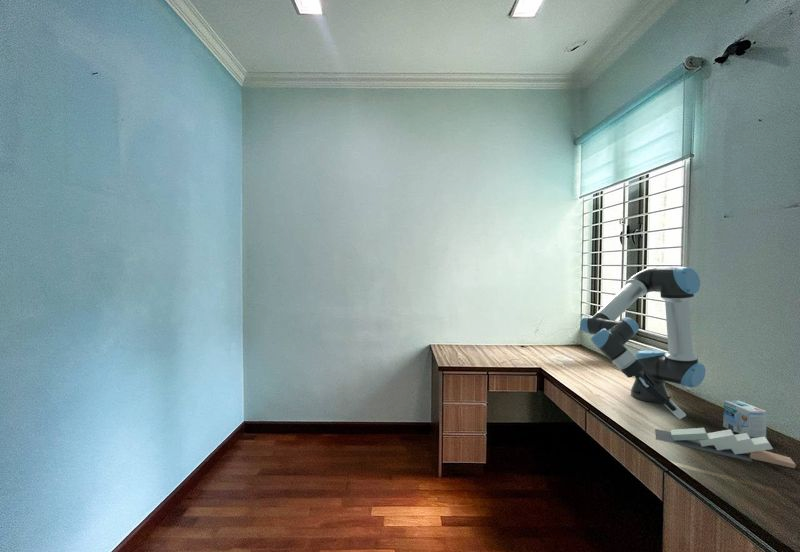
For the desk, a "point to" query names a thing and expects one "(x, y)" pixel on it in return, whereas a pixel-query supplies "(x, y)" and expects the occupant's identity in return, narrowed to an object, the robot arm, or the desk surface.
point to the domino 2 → (718, 438)
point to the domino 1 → (689, 434)
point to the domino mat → (698, 445)
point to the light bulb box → (744, 419)
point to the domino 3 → (736, 442)
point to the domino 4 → (754, 446)
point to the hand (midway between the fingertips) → (682, 416)
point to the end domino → (772, 458)
